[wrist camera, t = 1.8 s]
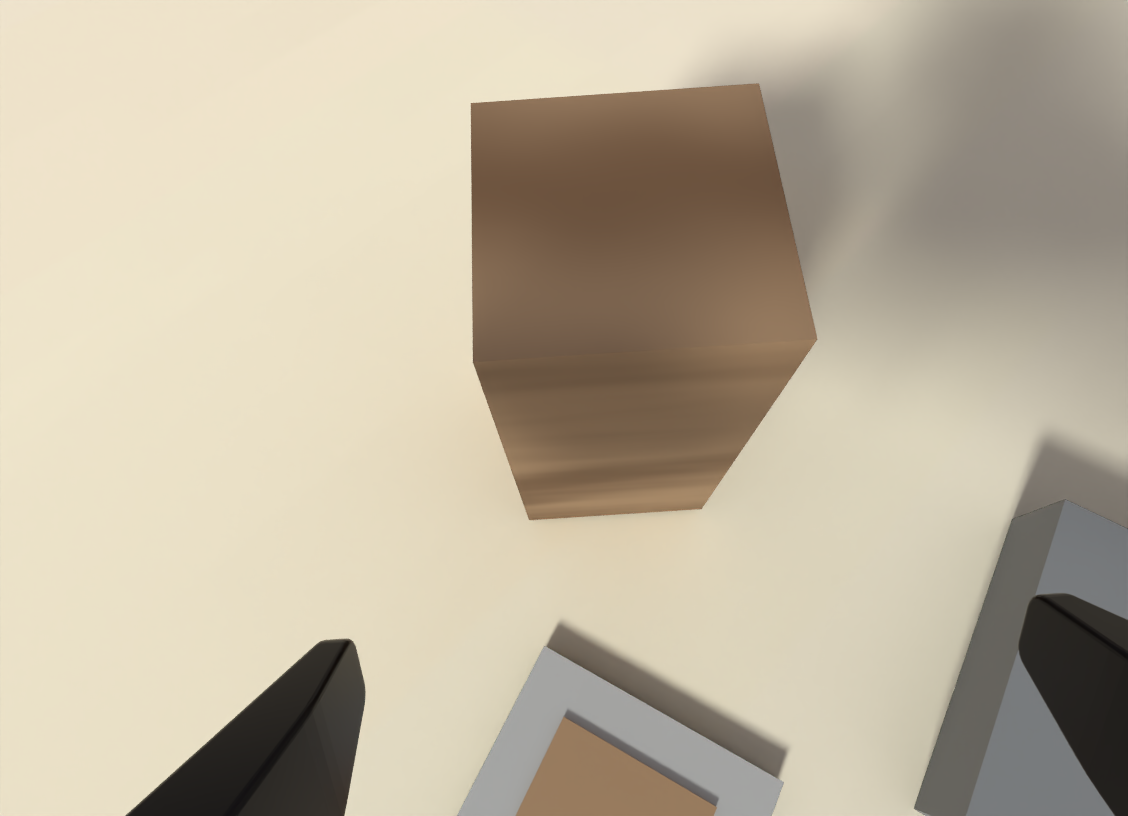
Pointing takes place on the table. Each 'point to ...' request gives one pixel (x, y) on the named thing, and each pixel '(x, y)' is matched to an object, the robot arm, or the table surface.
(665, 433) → the walnut pillar
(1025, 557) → the slate block
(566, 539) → the table surface
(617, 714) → the tile
